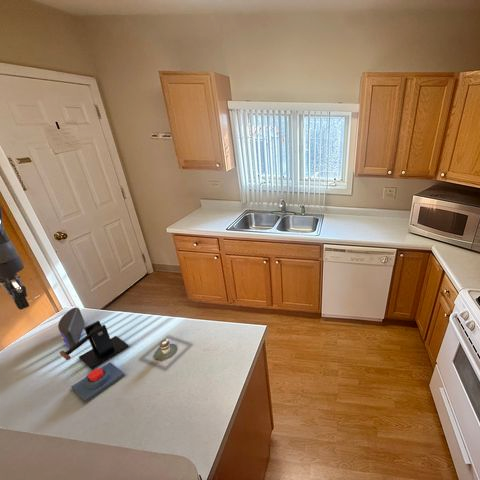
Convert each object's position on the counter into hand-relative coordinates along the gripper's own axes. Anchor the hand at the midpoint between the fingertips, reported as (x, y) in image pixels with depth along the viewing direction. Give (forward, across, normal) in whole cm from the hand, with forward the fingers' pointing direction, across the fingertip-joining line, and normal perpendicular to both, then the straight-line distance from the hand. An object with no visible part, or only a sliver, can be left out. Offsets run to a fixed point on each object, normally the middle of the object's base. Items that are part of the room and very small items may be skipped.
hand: (23, 307), depth 78 cm
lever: (+18, +6, +8) cm, 21 cm away
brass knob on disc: (+27, +25, +24) cm, 44 cm away
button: (+24, +18, +5) cm, 31 cm away
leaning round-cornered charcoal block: (+27, -12, +11) cm, 32 cm away
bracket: (+27, +6, +12) cm, 30 cm away
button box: (+27, +18, +5) cm, 33 cm away
